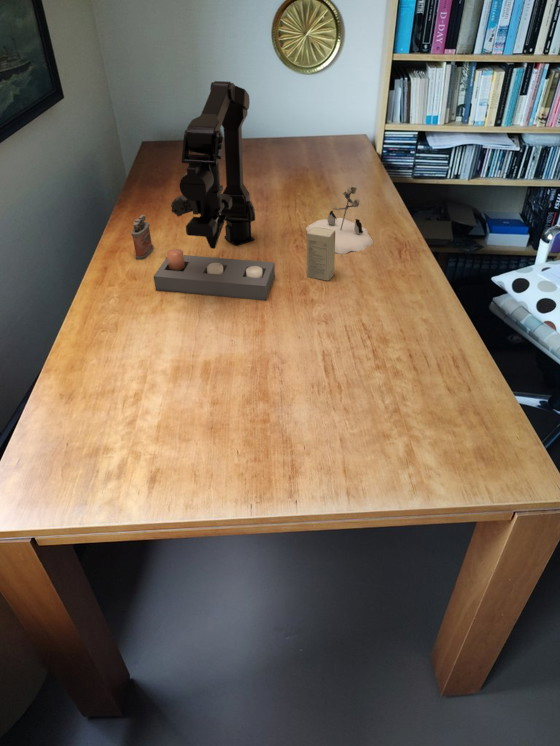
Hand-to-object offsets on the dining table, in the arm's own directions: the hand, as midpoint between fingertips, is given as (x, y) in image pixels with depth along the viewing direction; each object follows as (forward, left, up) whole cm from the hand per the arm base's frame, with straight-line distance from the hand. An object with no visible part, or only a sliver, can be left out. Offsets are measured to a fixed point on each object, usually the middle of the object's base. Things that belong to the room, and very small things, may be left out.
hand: (213, 247), depth 133 cm
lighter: (+8, -26, -10) cm, 29 cm away
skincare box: (-24, +12, -10) cm, 29 cm away
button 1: (0, 0, -9) cm, 9 cm away
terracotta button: (+7, -7, -6) cm, 12 cm away
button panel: (0, 0, -10) cm, 10 cm away
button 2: (-7, +7, -9) cm, 14 cm away
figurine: (-42, -2, -10) cm, 43 cm away
